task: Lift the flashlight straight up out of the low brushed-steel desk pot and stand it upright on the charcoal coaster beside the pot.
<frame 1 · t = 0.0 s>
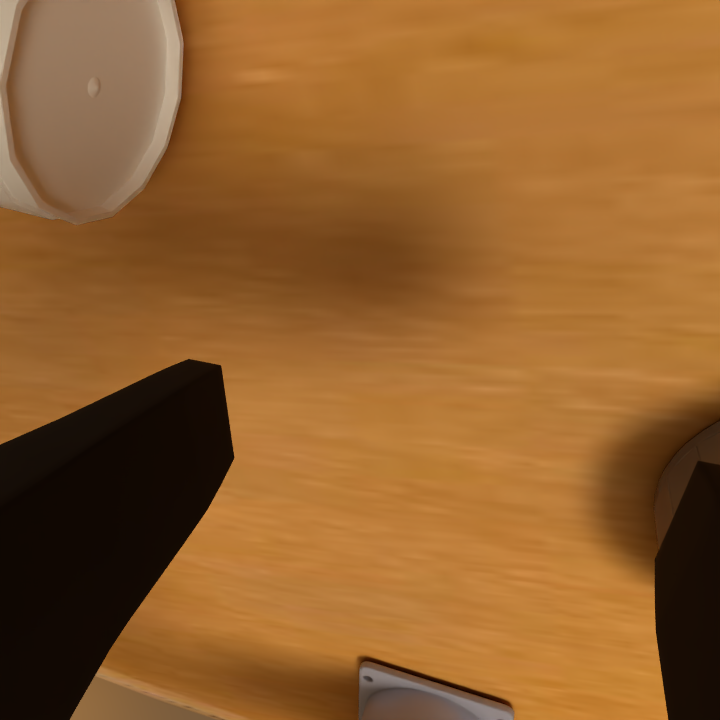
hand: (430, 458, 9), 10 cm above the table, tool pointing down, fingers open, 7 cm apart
foam cup: (116, 95, 14), point 5 cm above the table
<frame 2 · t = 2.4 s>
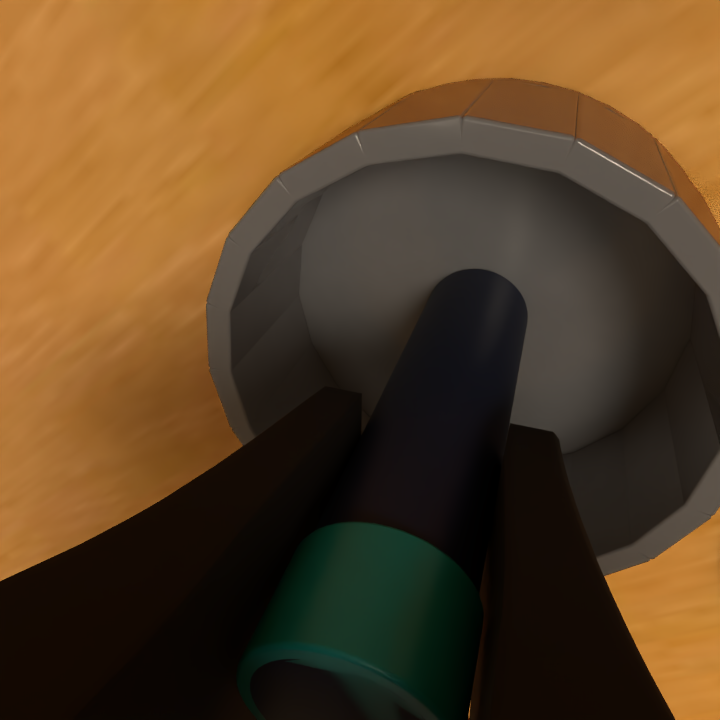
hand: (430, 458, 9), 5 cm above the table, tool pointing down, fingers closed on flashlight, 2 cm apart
pot: (480, 303, 14), on the table
flashlight: (476, 313, 13), point 1 cm above the table, touching gripper, pot
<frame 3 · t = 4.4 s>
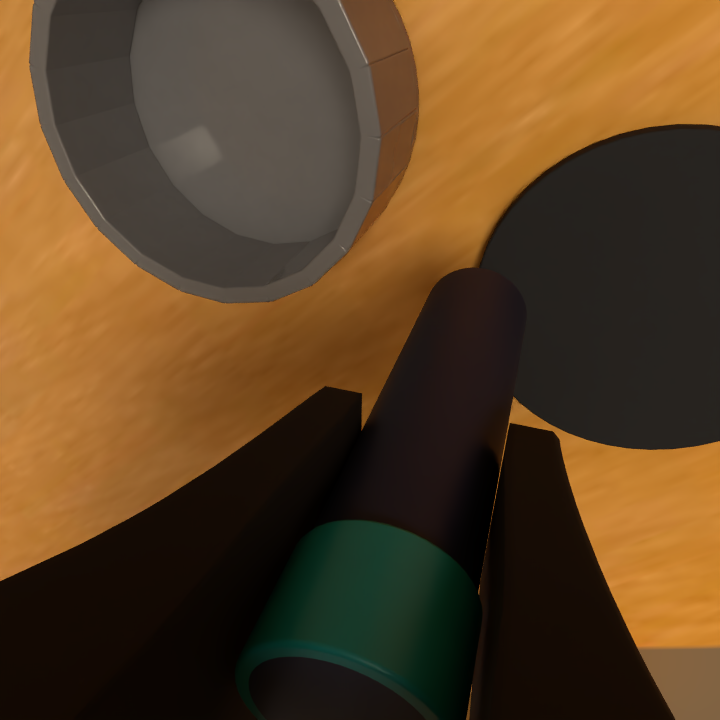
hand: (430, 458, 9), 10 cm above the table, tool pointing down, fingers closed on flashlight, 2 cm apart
pot: (265, 102, 18), on the table
coaster: (648, 304, 17), on the table
flashlight: (475, 312, 13), point 5 cm above the table, touching gripper
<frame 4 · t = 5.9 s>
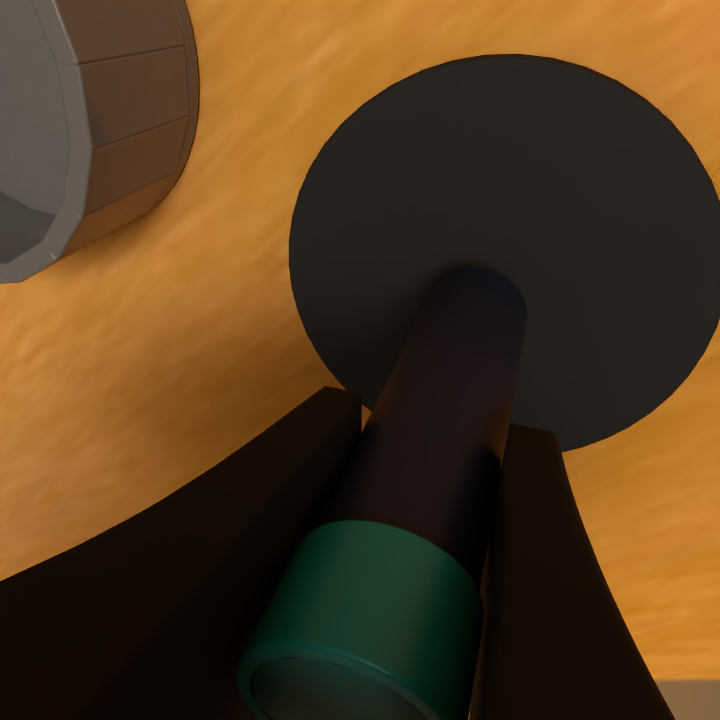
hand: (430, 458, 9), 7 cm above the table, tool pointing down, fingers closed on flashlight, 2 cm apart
pot: (32, 46, 15), on the table
coaster: (486, 283, 14), on the table
flashlight: (476, 312, 13), point 2 cm above the table, touching gripper
when the fingers open (5 cm above the table, at t = 6.5 s): flashlight stays where it is, resting on coaster.
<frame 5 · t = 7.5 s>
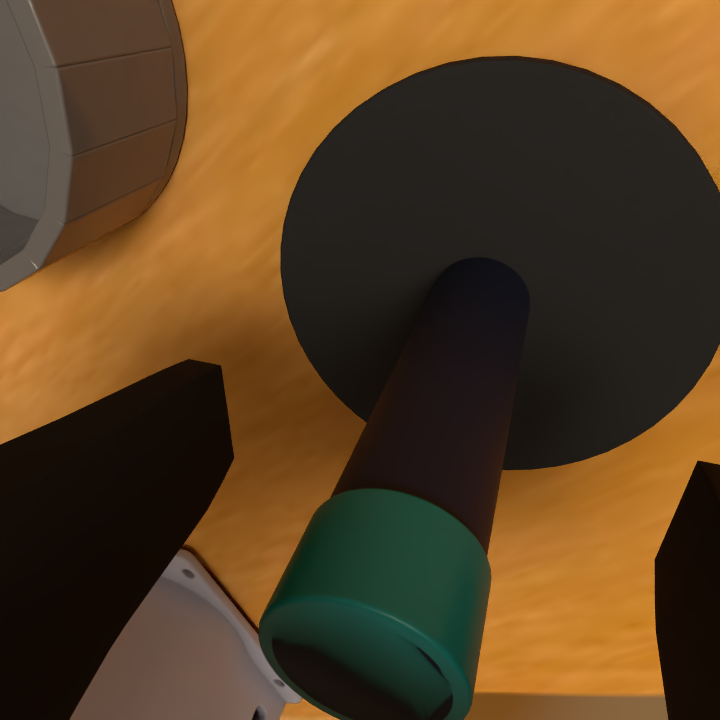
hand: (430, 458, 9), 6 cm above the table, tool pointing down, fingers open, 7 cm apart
pot: (16, 47, 14), on the table
coaster: (484, 292, 14), on the table
flashlight: (480, 301, 14), point 1 cm above the table, touching coaster
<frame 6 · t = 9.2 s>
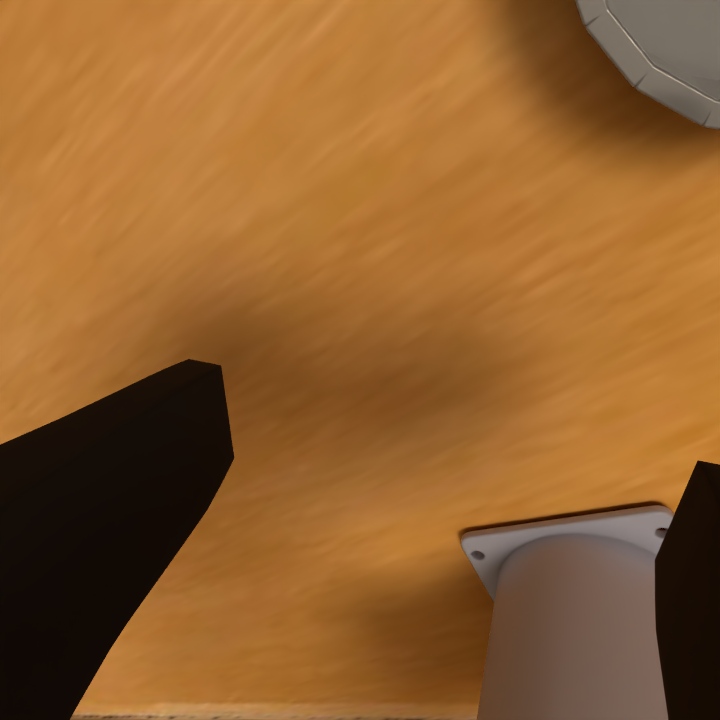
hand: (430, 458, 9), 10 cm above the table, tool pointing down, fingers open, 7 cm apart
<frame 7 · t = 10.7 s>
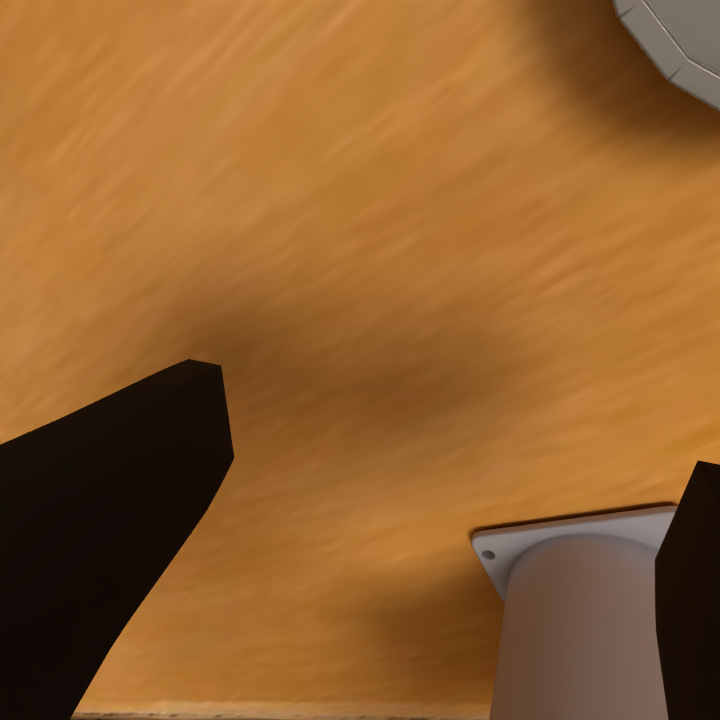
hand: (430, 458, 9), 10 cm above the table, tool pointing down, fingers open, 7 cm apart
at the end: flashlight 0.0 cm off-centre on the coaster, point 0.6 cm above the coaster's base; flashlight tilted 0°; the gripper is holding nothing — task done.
